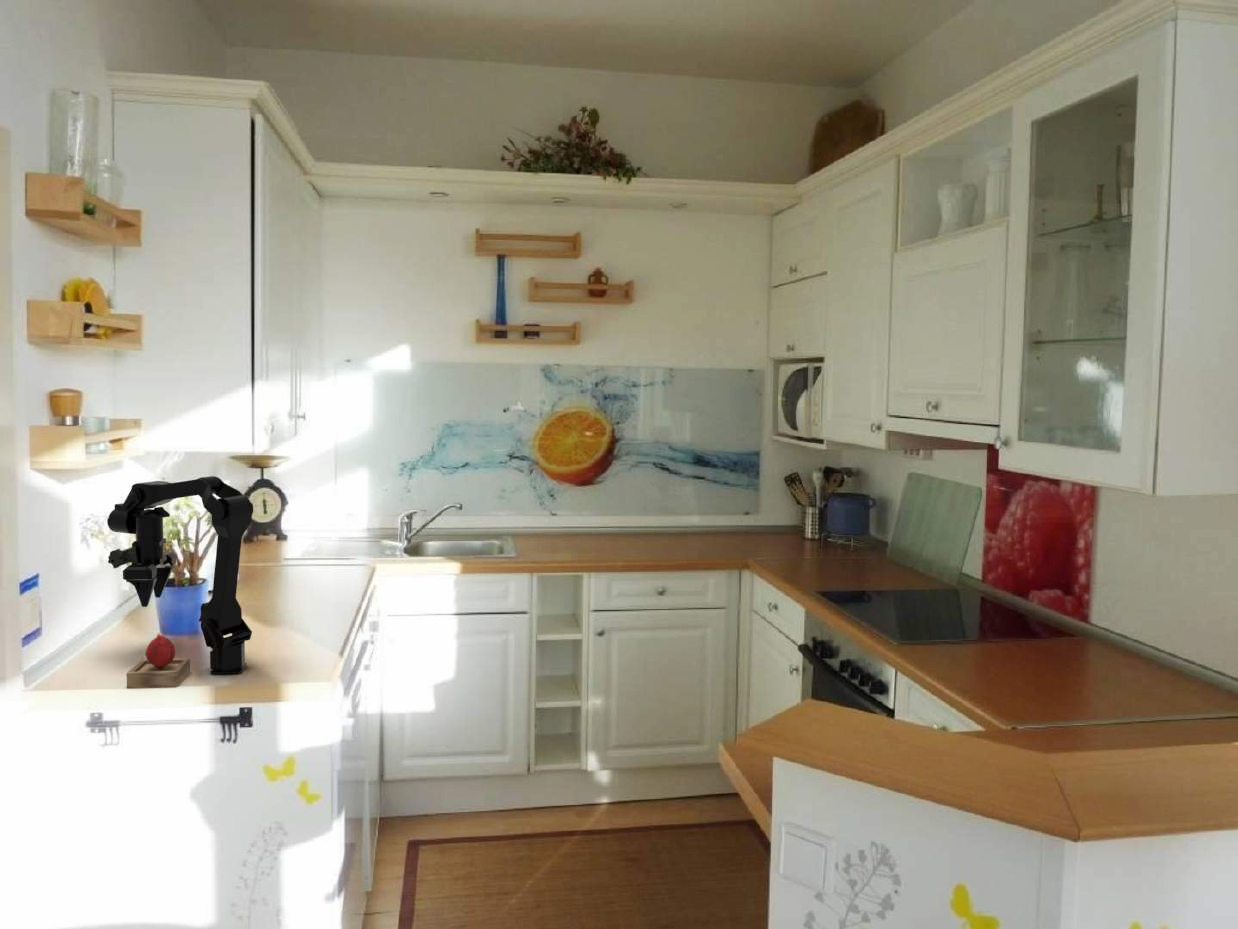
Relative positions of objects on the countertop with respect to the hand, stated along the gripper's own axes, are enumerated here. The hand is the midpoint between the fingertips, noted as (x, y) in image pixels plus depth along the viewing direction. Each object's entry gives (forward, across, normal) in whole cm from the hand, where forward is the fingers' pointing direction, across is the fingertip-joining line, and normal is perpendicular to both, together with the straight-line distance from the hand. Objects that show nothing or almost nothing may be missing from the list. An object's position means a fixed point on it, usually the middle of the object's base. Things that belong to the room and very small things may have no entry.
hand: (151, 602), depth 229 cm
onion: (+11, +18, +7) cm, 22 cm away
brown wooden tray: (+13, +18, +7) cm, 23 cm away
